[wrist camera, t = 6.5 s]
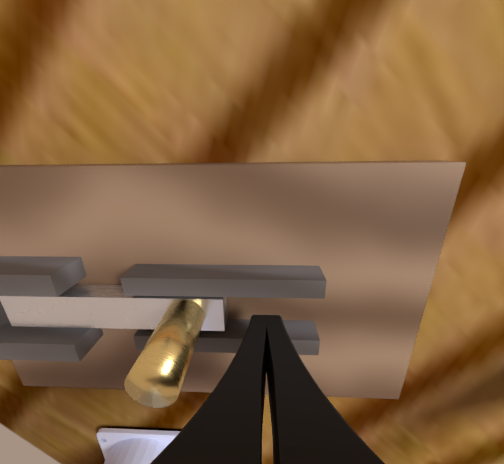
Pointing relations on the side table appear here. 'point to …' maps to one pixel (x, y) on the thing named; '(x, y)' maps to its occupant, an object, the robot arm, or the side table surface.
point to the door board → (229, 261)
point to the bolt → (131, 317)
